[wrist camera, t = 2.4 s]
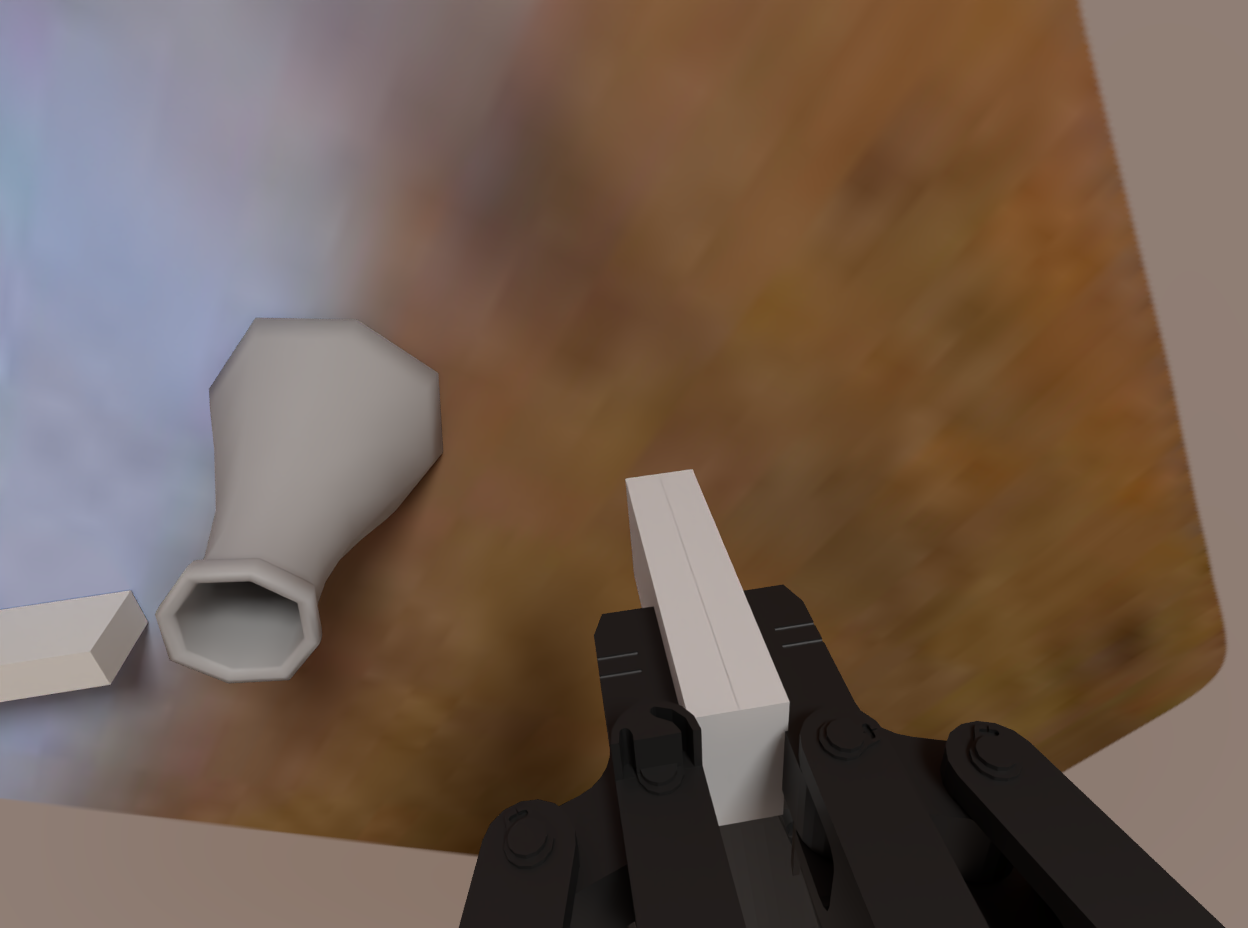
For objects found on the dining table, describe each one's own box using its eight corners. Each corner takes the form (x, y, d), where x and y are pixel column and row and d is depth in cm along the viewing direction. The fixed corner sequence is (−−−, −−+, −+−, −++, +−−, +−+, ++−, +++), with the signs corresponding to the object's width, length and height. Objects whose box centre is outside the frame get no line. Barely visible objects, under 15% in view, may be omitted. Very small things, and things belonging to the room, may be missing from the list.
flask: (474, 353, 24) (458, 534, 15) (416, 532, 27) (375, 768, 18) (230, 276, 21) (48, 437, 13) (196, 480, 24) (30, 721, 16)
